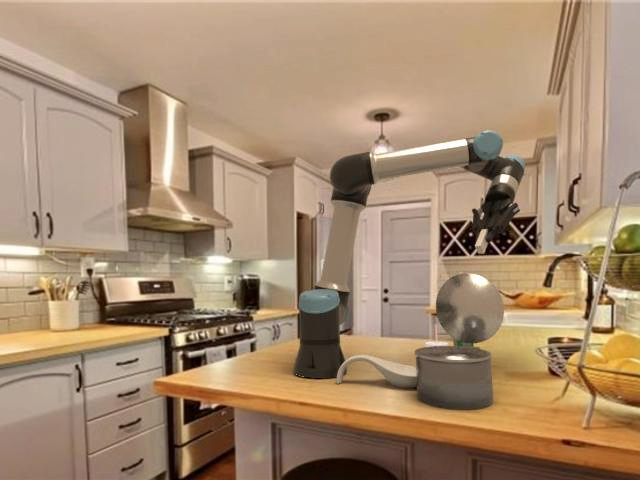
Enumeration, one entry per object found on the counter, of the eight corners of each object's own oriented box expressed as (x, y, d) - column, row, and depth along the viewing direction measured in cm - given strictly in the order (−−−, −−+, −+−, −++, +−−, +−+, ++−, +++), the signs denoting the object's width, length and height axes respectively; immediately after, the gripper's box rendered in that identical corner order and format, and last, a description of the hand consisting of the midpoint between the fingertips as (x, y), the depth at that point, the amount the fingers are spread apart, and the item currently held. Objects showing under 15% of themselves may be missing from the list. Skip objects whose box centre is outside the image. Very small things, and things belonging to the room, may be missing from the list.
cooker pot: (442, 383, 103) (440, 342, 104) (509, 395, 92) (506, 350, 93) (401, 399, 91) (400, 353, 92) (473, 415, 79) (470, 363, 80)
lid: (436, 340, 103) (441, 339, 105) (503, 347, 91) (508, 346, 93) (434, 274, 105) (440, 274, 107) (500, 272, 93) (505, 273, 95)
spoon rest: (429, 380, 108) (428, 352, 108) (433, 392, 96) (432, 361, 97) (340, 377, 112) (339, 351, 113) (333, 389, 100) (333, 359, 101)
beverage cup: (429, 373, 114) (427, 322, 115) (452, 376, 110) (450, 323, 112) (423, 378, 108) (421, 325, 109) (447, 381, 105) (444, 326, 106)
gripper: (529, 200, 115) (510, 259, 102) (483, 207, 125) (461, 261, 112) (521, 179, 112) (500, 236, 99) (475, 187, 121) (450, 241, 108)
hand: (479, 249), depth 105 cm, fingers closed
